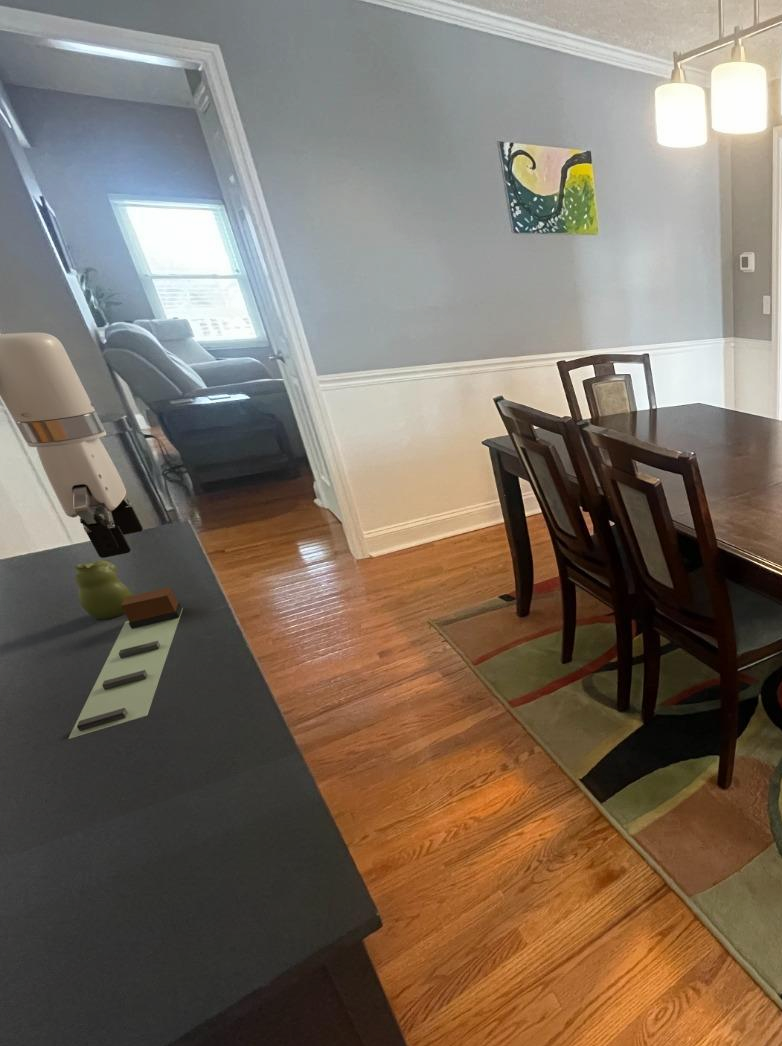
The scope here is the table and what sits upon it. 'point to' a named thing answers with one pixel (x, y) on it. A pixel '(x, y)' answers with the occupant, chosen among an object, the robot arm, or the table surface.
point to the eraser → (151, 607)
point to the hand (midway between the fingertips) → (123, 543)
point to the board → (136, 693)
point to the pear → (101, 589)
